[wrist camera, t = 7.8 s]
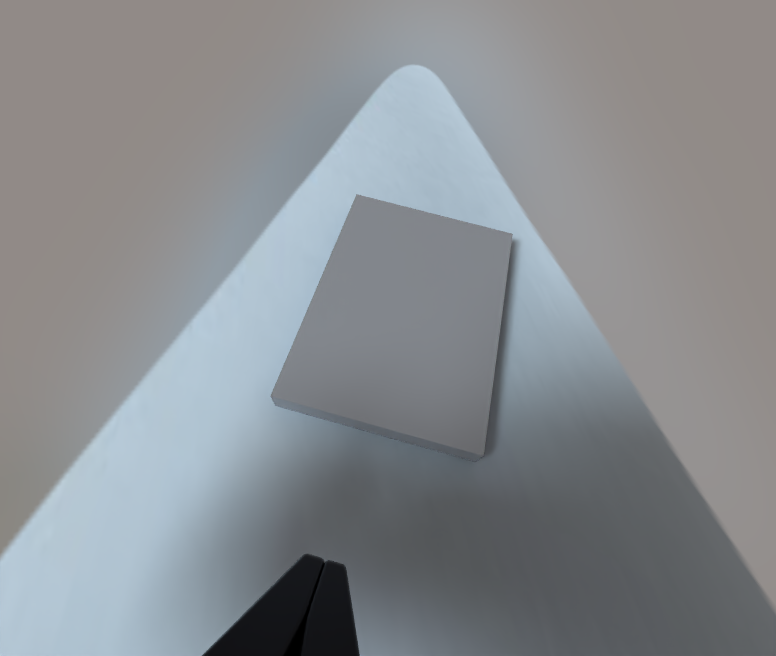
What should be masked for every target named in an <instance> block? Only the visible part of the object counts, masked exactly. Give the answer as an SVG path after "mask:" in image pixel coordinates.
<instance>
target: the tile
mask: <svg viewBox="0 0 776 656" xmlns="http://www.w3.org/2000/svg"><path fill="white" fill-rule="evenodd" d="M511 242H512V234H511V233H507V232H503V231H499V230H495V229H491V228H487V227H483V226H479V225H475V224H471V223H467V222H463V221H459V220H455V219H452V218H448V217H444V216H440V215H436V214H432V213H428V212H424V211H420V210H416V209H412V208H408V207H404V206H400V205H396V204H392V203H388V202H384V201H381V200H377V199H373V198H369V197H365V196H361V195H356V197H355V199H354V202H353V204H352V206H351V209H350V211H349V214H348V216H347V218H346V221H345V223H344V225H343V228H342V230H341V232H340V235H339V237H338V239H337V242H336V244H335V246H334V249H333V251H332V253H331V256H330V258H329V260H328V263H327V265H326V267H325V270H324V272H323V274H322V277H321V279H320V281H319V284H318V286H317V288H316V291H315V293H314V295H313V298H312V300H311V303H310V305H309V307H308V310H307V312H306V314H305V317H304V319H303V321H302V324H301V326H300V328H299V331H298V333H297V335H296V338H295V340H294V342H293V345H292V347H291V349H290V352H289V354H288V356H287V359H286V361H285V363H284V366H283V368H282V370H281V373H280V375H279V377H278V380H277V382H276V384H275V387H274V389H273V392H272V394H271V398H272V400H273V402H274V404H275V406H279V407H282V408H286V409H289V410H293V411H296V412H300V413H303V414H307V415H310V416H314V417H318V418H321V419H325V420H328V421H332V422H335V423H339V424H342V425H346V426H350V427H353V428H357V429H360V430H364V431H367V432H371V433H374V434H378V435H381V436H385V437H389V438H392V439H396V440H399V441H403V442H406V443H410V444H413V445H417V446H420V447H424V448H428V449H431V450H435V451H438V452H442V453H445V454H449V455H452V456H456V457H459V458H463V459H467V460H470V461H474V462H476V461H477V460H479V459H480V458H482V457H483V456H484V450H485V443H486V435H487V427H488V420H489V412H490V404H491V396H492V389H493V381H494V373H495V366H496V358H497V350H498V342H499V335H500V327H501V319H502V312H503V304H504V296H505V288H506V281H507V273H508V265H509V258H510V250H511Z"/></svg>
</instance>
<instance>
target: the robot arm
mask: <svg viewBox="0 0 776 656" xmlns="http://www.w3.org/2000/svg"><path fill="white" fill-rule="evenodd" d="M202 656H360V654H359V648H358V641H357V635H356V628H355V622H354V615H353V609H352V602H351V596H350V590H349V583H348V577H347V570H346V567H345V565H344V564H341V563H337V562H334V561H331V560H327V561H325V563H324V560H323V558H320V557H317V556H314V555H310V554H304V555H303V556H302V557H301V558H300V559H299V560H298V561H297V562H296V563H295V564H294V565H293V566H292V567H291V568H290V569H289V570H288V571H287V572H286V573H285V574H284V575H283V576H282V577H281V578H280V579H279V580H278V581H277V582H276V583H275V584H274V585H273V586H272V587H271V588H270V589H269V590H268V591H267V592H266V593H265V594H264V595H263V596H262V597H260V598H259V599H258V600H257V601H256V602H255V603H254V604H253V605H252V606H251V607H250V608H249V609H248V610H247V611H246V612H245V613H244V614H243V615H242V616H241V617H240V618H239V619H238V620H237V621H236V622H235V623H234V624H233V625H232V626H231V627H230V628H229V629H228V630H227V631H226V632H225V633H224V634H223V635H222V636H221V637H220V638H219V639H218V640H217V641H216V642H215V643H214V644H213V645H212V646H211V647H210V648H209V649H208V650H207V651H206V652H205V653H204V654H203V655H202Z"/></svg>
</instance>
